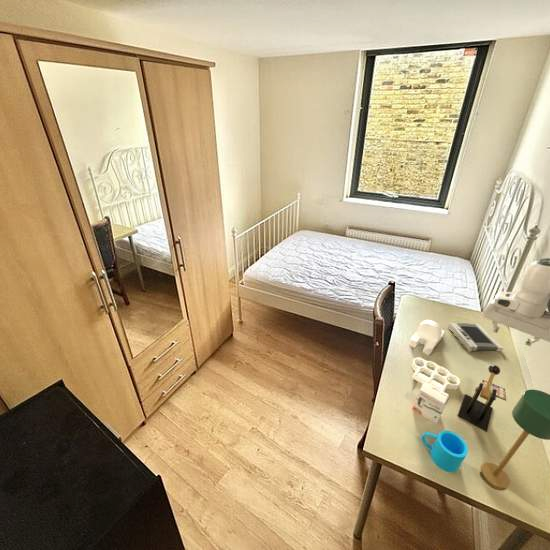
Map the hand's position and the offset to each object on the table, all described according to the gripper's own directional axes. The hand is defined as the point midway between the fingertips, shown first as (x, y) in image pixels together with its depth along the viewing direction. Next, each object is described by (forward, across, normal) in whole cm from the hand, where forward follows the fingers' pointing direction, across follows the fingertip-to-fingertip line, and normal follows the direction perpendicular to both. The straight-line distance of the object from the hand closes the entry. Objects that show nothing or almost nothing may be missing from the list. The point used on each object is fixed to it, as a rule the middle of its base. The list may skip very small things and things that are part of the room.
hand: (510, 337), depth 101 cm
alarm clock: (+28, +11, -32) cm, 44 cm away
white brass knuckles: (+28, +17, +8) cm, 33 cm away
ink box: (+28, +12, +26) cm, 40 cm away
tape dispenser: (+27, +27, -14) cm, 41 cm away
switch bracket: (+28, 0, +13) cm, 31 cm away
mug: (+28, +4, +38) cm, 47 cm away
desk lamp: (+28, -10, +33) cm, 44 cm away
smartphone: (+28, -2, -7) cm, 29 cm away
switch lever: (+16, 0, +8) cm, 18 cm away
